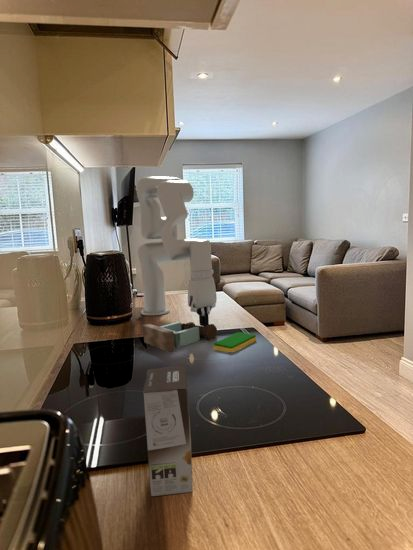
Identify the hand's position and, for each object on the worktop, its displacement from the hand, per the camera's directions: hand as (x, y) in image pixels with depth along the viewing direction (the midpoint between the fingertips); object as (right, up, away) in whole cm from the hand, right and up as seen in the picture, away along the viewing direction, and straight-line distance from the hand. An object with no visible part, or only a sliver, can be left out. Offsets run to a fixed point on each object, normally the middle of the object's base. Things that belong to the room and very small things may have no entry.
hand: (204, 325), depth 135 cm
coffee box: (-5, -14, -75) cm, 77 cm away
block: (-9, -4, -7) cm, 12 cm away
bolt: (-3, -4, -3) cm, 5 cm away
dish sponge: (+10, -5, -15) cm, 18 cm away
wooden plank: (-15, -5, -12) cm, 20 cm away
